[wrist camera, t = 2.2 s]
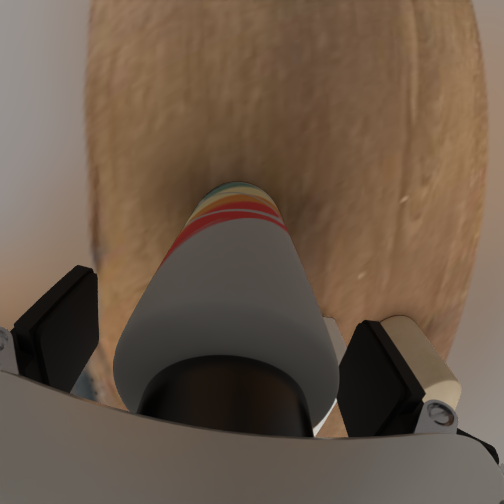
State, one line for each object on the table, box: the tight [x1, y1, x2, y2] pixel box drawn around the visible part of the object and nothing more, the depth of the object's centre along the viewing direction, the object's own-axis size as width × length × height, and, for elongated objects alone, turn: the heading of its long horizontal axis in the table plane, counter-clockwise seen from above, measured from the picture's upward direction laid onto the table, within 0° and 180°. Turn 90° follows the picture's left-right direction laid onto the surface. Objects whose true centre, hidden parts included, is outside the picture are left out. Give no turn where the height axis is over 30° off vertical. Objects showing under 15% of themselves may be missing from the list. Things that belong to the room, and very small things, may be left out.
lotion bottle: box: [113, 182, 339, 437], centre depth 12 cm, size 6×6×20 cm
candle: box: [380, 316, 461, 411], centre depth 20 cm, size 6×6×10 cm
